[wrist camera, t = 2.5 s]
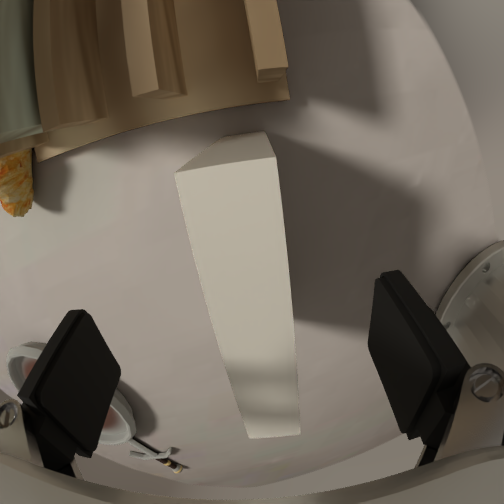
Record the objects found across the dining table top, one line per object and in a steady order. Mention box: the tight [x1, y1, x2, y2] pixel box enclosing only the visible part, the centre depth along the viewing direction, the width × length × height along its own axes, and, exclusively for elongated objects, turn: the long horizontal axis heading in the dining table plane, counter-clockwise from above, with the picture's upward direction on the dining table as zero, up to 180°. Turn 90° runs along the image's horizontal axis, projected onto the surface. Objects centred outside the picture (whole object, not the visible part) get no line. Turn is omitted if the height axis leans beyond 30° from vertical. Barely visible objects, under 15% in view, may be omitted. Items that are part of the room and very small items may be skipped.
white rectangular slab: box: [174, 131, 301, 438], centre depth 13 cm, size 2×11×10 cm, turn 8°
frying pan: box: [6, 342, 183, 473], centre depth 27 cm, size 17×3×28 cm
